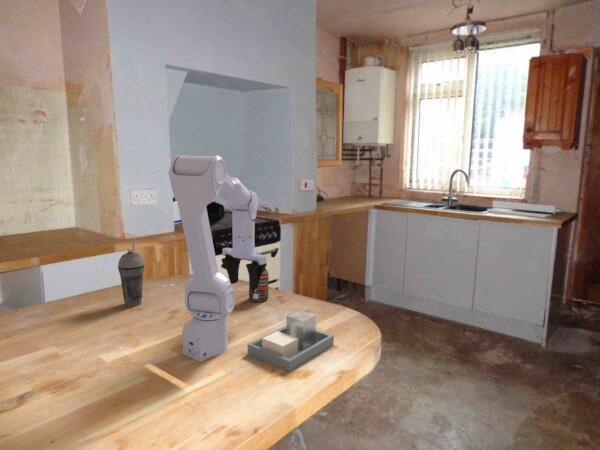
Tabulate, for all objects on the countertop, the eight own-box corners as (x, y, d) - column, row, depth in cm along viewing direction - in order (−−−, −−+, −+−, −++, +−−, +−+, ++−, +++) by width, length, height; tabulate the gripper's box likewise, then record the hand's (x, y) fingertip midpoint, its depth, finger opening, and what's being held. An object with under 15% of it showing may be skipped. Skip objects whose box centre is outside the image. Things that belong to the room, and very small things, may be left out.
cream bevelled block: (283, 364, 89) (283, 346, 89) (262, 355, 93) (262, 338, 92) (297, 355, 93) (298, 338, 92) (277, 347, 97) (277, 330, 96)
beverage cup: (119, 301, 126) (115, 235, 123) (145, 298, 130) (142, 234, 126) (120, 309, 120) (116, 240, 117) (147, 306, 123) (144, 238, 120)
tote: (289, 375, 86) (289, 361, 86) (247, 357, 94) (247, 344, 93) (333, 347, 99) (333, 335, 98) (293, 333, 106) (293, 322, 106)
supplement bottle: (259, 304, 126) (259, 267, 124) (244, 299, 130) (244, 263, 128) (272, 298, 131) (272, 263, 129) (258, 294, 134) (258, 260, 133)
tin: (302, 350, 95) (303, 321, 94) (286, 344, 98) (286, 315, 97) (315, 343, 99) (315, 315, 98) (299, 337, 102) (299, 310, 101)
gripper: (274, 237, 109) (274, 287, 112) (235, 230, 118) (236, 277, 121) (255, 241, 104) (255, 294, 106) (216, 233, 113) (217, 282, 115)
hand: (243, 285), depth 113 cm, fingers open, 7 cm apart
